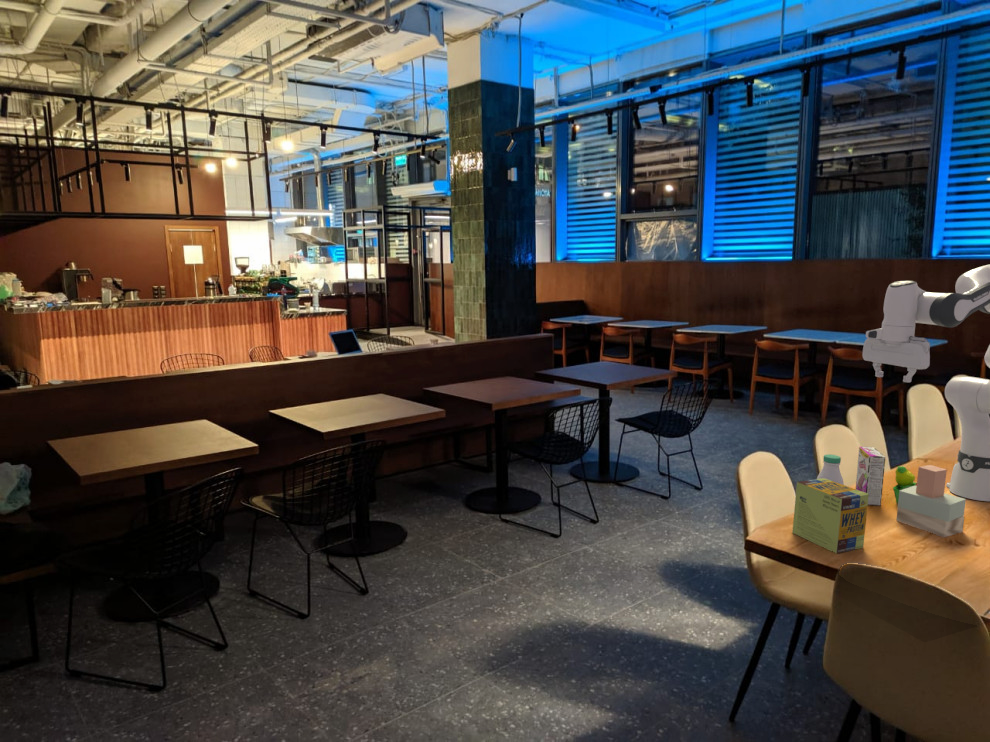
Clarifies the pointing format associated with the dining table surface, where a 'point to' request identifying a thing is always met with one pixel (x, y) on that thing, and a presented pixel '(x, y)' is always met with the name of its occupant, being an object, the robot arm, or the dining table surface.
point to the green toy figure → (903, 480)
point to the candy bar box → (870, 474)
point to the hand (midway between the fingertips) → (892, 379)
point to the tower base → (930, 523)
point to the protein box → (830, 514)
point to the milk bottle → (831, 469)
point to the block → (931, 481)
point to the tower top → (932, 504)
